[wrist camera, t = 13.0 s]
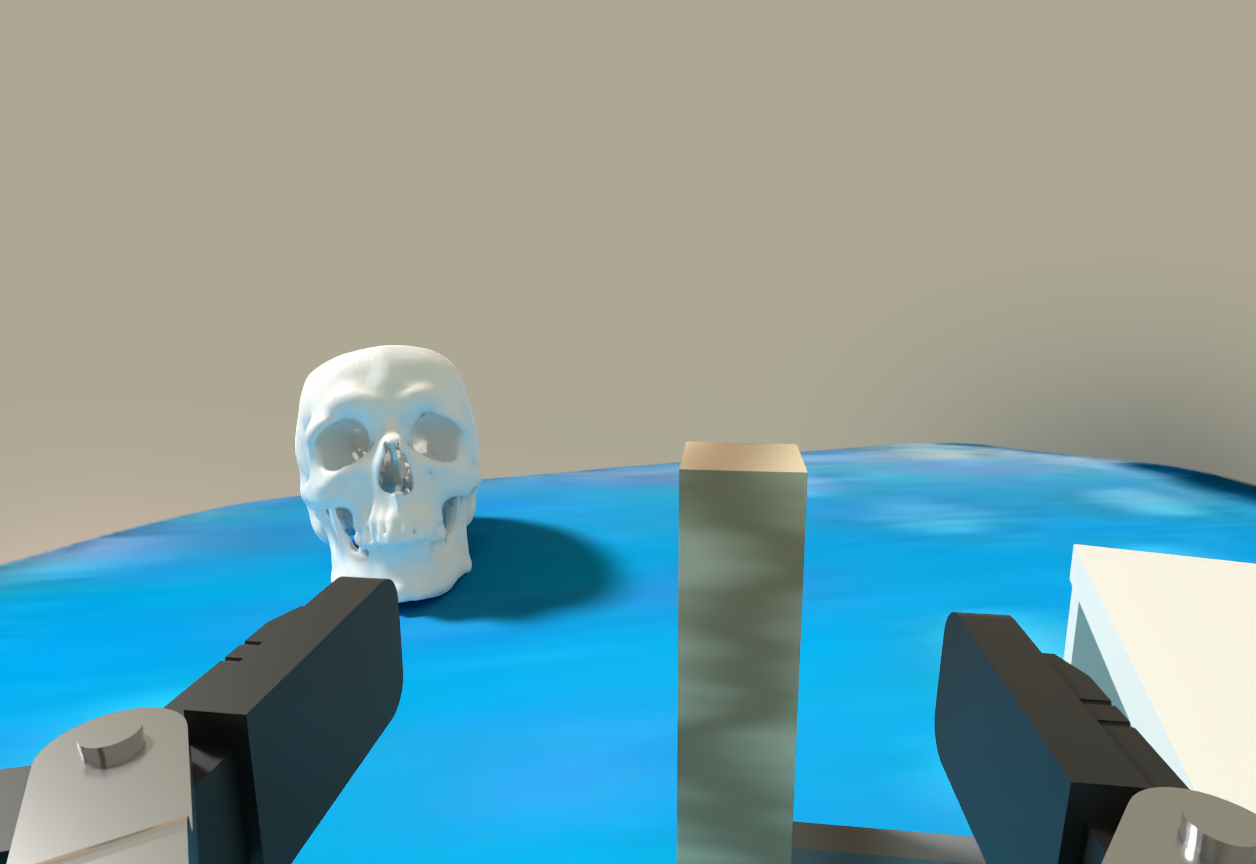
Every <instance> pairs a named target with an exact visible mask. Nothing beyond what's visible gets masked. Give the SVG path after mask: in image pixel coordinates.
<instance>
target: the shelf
mask: <svg viewBox="0 0 1256 864" xmlns="http://www.w3.org/2000/svg"><path fill="white" fill-rule="evenodd" d="M1070 581H1071V583H1072V586H1073V587H1072V595H1071V603H1070V612H1069V620H1068V628H1067V636H1066V645H1065V653H1064V660H1065V661H1066V662H1068V663H1069V664H1071V665H1073V666H1074V667H1076V668H1077V669H1079V670H1080V671H1082V672H1084V673H1085V674H1087V675H1088V676H1090V677H1091V679H1092V680H1093V681H1094V682H1095V683H1096V684H1097V685H1098V686H1099V688H1100V689H1101V690H1102V691H1103V692H1104V693H1105V694H1106V695H1107V697H1108V698H1109V699H1110V700H1111V704H1112V706H1116V707H1117V708H1118V709H1119V710H1120V711H1121V712H1122V714H1123V715H1124V716H1125V717H1126V718H1127V719H1128V720H1129V721H1130V727H1134V728H1136V729H1137V730H1138V732H1139V733H1140V734H1141V735H1142V736H1143V737H1144V738H1145V739H1146V741H1147V742H1148V743H1149V744H1150V745H1151V746H1152V747H1153V749H1154V750H1155V751H1156V752H1157V753H1158V754H1159V755H1160V756H1161V758H1162V759H1163V760H1164V761H1165V762H1166V763H1167V764H1168V765H1169V767H1170V768H1171V769H1172V770H1173V771H1174V772H1175V773H1176V774H1177V776H1178V777H1179V778H1180V779H1181V780H1182V781H1183V782H1184V783H1185V785H1186V786H1187V787H1188V788H1189V789H1190V790H1194V791H1199V792H1202V793H1206V794H1210V795H1213V796H1216V797H1219V798H1222V799H1224V800H1227V801H1230V802H1232V803H1234V804H1237V805H1239V806H1241V807H1244V808H1245V809H1247V810H1249V811H1251V812H1253V813H1255V814H1256V564H1252V563H1243V562H1234V561H1225V560H1216V559H1206V558H1197V557H1188V556H1179V555H1170V554H1160V553H1151V552H1142V551H1133V550H1123V549H1114V548H1105V547H1096V546H1087V545H1077V544H1074V547H1073V555H1072V564H1071V572H1070Z"/></svg>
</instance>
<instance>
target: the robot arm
mask: <svg viewBox="0 0 1256 864" xmlns="http://www.w3.org/2000/svg"><path fill="white" fill-rule="evenodd" d="M402 685H403V665H402V650H401V635H400V619H399V604H398V593H397V589H396V586H395V584H394V582H393V581H392V580H390V579H381V578H364V577H346V576H341V577H339V578H337V579H336V580H334V581H333V582H332V583H331V584H330V585H329V586H327V587H326V588H325V589H324V590H323V591H322V592H320V593H319V594H318V595H317V596H316V597H315V598H313V599H312V600H311V601H310V602H309V603H308V604H306V605H305V606H301V607H299V608H297V609H294V610H292V611H290V612H288V613H286V614H284V615H282V616H280V617H277V618H275V619H273V620H271V621H269V622H267V623H266V624H265V625H264V626H263V627H261V628H260V629H259V630H258V631H256V632H255V633H254V634H253V635H252V636H250V637H249V638H248V639H247V640H245V644H244V645H239V646H238V647H237V648H236V649H235V650H233V651H232V652H231V653H230V654H228V655H227V656H226V658H225V661H220V662H219V663H217V664H216V665H215V666H214V667H213V668H211V669H210V670H209V671H208V672H207V673H205V674H204V675H203V676H202V677H200V678H199V679H198V680H197V681H196V682H194V683H193V684H192V685H191V686H189V687H188V688H187V689H186V690H185V691H183V692H182V693H181V694H180V695H178V696H177V697H176V698H175V699H174V700H172V701H171V702H170V703H169V704H168V705H166V706H165V707H164V708H153V707H150V708H136V709H129V710H124V711H119V712H115V713H111V714H108V715H104V716H101V717H98V718H96V719H93V720H90V721H88V722H86V723H83V724H81V725H79V726H77V727H75V728H73V729H71V730H69V731H67V732H65V733H64V734H62V735H61V736H59V737H57V738H56V739H55V740H53V741H52V742H51V743H49V744H48V745H47V746H46V747H45V748H44V749H43V750H42V751H41V752H40V753H39V754H38V755H37V757H36V758H35V759H34V761H33V764H32V766H25V767H17V768H9V769H1V770H0V864H291V863H292V862H293V860H294V859H295V857H296V856H297V854H298V853H299V852H300V850H301V849H302V847H303V846H304V844H305V843H306V842H307V840H308V839H309V837H310V836H311V834H312V833H313V831H314V830H315V829H316V827H317V826H318V824H319V823H320V821H321V820H322V819H323V817H324V816H325V814H326V813H327V811H328V810H329V809H330V807H331V806H332V804H333V803H334V801H335V800H336V798H337V797H338V796H339V794H340V793H341V791H342V790H343V788H344V787H345V786H346V784H347V783H348V781H349V780H350V778H351V777H352V776H353V774H354V773H355V771H356V770H357V768H358V767H359V765H360V764H361V763H362V761H363V760H364V758H365V757H366V755H367V754H368V753H369V751H370V750H371V748H372V747H373V745H374V744H375V743H376V741H377V740H378V738H379V737H380V735H381V734H382V733H383V731H384V730H385V728H386V727H387V725H388V724H389V722H390V721H391V720H392V718H393V716H394V714H395V712H396V710H397V707H398V704H399V701H400V697H401V692H402ZM935 737H936V744H937V750H938V754H939V757H940V760H941V763H942V765H943V768H944V770H945V772H946V774H947V777H948V779H949V781H950V783H951V786H952V788H953V790H954V792H955V795H956V797H957V799H958V801H959V804H960V806H961V808H962V810H963V813H964V815H965V817H966V819H967V822H968V824H969V826H970V828H971V831H972V833H973V835H974V837H975V840H976V842H977V844H978V846H979V849H980V851H981V853H982V855H983V858H984V860H985V862H986V864H1256V814H1255V813H1253V812H1251V811H1249V810H1247V809H1245V808H1244V807H1241V806H1239V805H1237V804H1234V803H1232V802H1230V801H1227V800H1224V799H1222V798H1219V797H1216V796H1213V795H1210V794H1206V793H1202V792H1199V791H1194V790H1190V789H1189V788H1188V787H1187V786H1186V785H1185V783H1184V782H1183V781H1182V780H1181V779H1180V778H1179V777H1178V776H1177V774H1176V773H1175V772H1174V771H1173V770H1172V769H1171V768H1170V767H1169V765H1168V764H1167V763H1166V762H1165V761H1164V760H1163V759H1162V758H1161V756H1160V755H1159V754H1158V753H1157V752H1156V751H1155V750H1154V749H1153V747H1152V746H1151V745H1150V744H1149V743H1148V742H1147V741H1146V739H1145V738H1144V737H1143V736H1142V735H1141V734H1140V733H1139V732H1138V730H1137V729H1136V728H1134V727H1130V721H1129V720H1128V719H1127V718H1126V717H1125V716H1124V715H1123V714H1122V712H1121V711H1120V710H1119V709H1118V708H1117V707H1116V706H1112V704H1111V700H1110V699H1109V698H1108V697H1107V695H1106V694H1105V693H1104V692H1103V691H1102V690H1101V689H1100V688H1099V686H1098V685H1097V684H1096V683H1095V682H1094V681H1093V680H1092V679H1091V677H1090V676H1088V675H1087V674H1085V673H1084V672H1082V671H1080V670H1079V669H1077V668H1076V667H1074V666H1073V665H1071V664H1069V663H1068V662H1066V661H1065V660H1063V659H1061V658H1060V657H1058V656H1057V655H1055V654H1047V653H1041V652H1040V650H1039V649H1038V648H1037V647H1036V645H1035V644H1034V643H1033V642H1032V641H1031V639H1030V638H1029V637H1028V636H1027V634H1026V633H1025V632H1024V631H1023V630H1022V628H1021V627H1020V626H1019V625H1018V623H1017V622H1016V621H1015V620H1014V619H1013V618H1012V617H1011V616H1009V615H994V614H976V613H959V612H952V613H951V614H950V615H949V616H948V618H947V621H946V625H945V630H944V638H943V647H942V656H941V665H940V673H939V682H938V691H937V700H936V708H935Z"/></svg>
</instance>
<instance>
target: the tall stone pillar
mask: <svg viewBox="0 0 1256 864" xmlns="http://www.w3.org/2000/svg"><path fill="white" fill-rule="evenodd" d="M807 474H808V472H807V470H806V467H805V465H804V462H803V459H802V457H801V454H800V452H799V449H798V446H797V445H796V444H765V443H716V442H686V445H685V449H684V453H683V457H682V461H681V465H680V469H679V597H678V753H677V864H986V862H985V860H984V858H983V855H982V853H981V851H980V849H979V846H978V844H977V842H976V840H975V837H969V836H957V835H946V834H934V833H922V832H910V831H898V830H886V829H874V828H862V827H850V826H839V825H827V824H815V823H803V822H793V803H794V779H795V756H796V732H797V709H798V685H799V662H800V638H801V615H802V591H803V568H804V544H805V521H806V497H807Z"/></svg>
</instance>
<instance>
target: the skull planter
mask: <svg viewBox="0 0 1256 864" xmlns="http://www.w3.org/2000/svg"><path fill="white" fill-rule="evenodd" d="M478 446H479V443H478V433H477V428H476V424H475V421H474V417H473V413H472V410H471V407H470V403H469V400H468V395H467V392H466V388H465V386H464V384H463V381H462V379H461V376H460V374H459V372H458V370H457V369H456V367H455V366H454V365H453V364H452V363H451V362H450V361H449V360H448V359H447V358H446V357H444V356H443V355H441V354H439V353H437V352H435V351H432V350H429V349H425V348H420V347H413V346H402V345H389V346H388V345H386V346H377V347H371V348H367V349H362V350H358V351H353V352H350V353H346V354H343V355H340V356H338V357H335V358H333V359H331V360H329V361H327V362H326V363H324V364H322V365H321V366H319V367H318V368H317V369H315V370H314V371H313V372H312V373H311V374H310V375H309V376H308V378H307V380H306V382H305V384H304V387H303V391H302V394H301V398H300V406H299V414H298V421H297V428H296V438H295V452H296V458H297V462H298V466H299V471H300V477H301V484H300V491H301V497H302V500H303V501H304V502H305V503H306V505H307V507H308V510H309V515H310V520H311V524H312V527H313V529H314V532H315V533H316V535H317V536H318V537H319V539H320V540H321V541H323V542H324V543H326V544H330V548H331V554H332V573H331V582H333V581H334V580H336V579H337V578H339V577H341V576H346V577H364V578H381V579H390V580H392V581H393V582H394V584H395V586H396V589H397V593H398V603H400V602H406V601H417V600H422V599H427V598H433V597H437V596H440V595H442V594H444V593H446V592H447V591H449V590H450V589H451V588H452V587H453V585H454V583H455V582H456V581H457V580H458V578H460V577H461V576H462V575H463V574H464V573H468V572H470V570H471V567H472V562H471V559H470V555H469V550H468V540H467V526H468V525H469V524H470V522H471V521H472V519H473V516H474V513H475V510H476V492H477V488H478V485H479V484H480V482H481V475H480V473H479V468H478ZM445 527H446V529H445ZM351 535H355V537H354V541H355V544H356V545H358V546H359V549H358V548H356V547H355V545H354V544H353V542H352V540H351V538H350V536H351Z"/></svg>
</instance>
